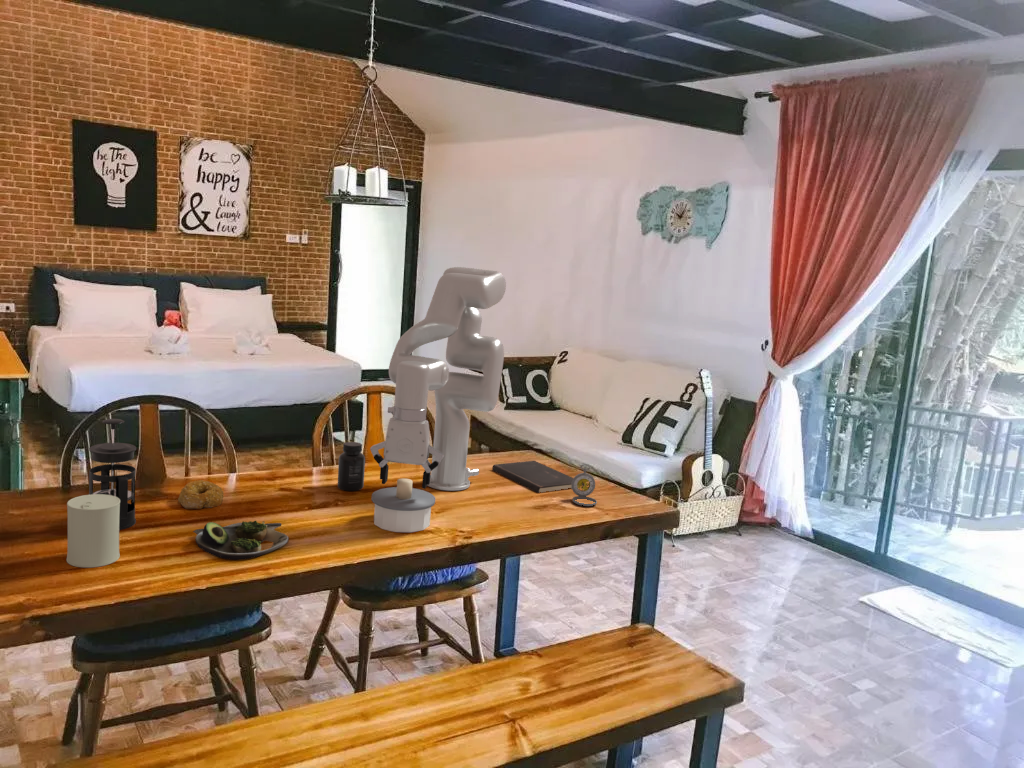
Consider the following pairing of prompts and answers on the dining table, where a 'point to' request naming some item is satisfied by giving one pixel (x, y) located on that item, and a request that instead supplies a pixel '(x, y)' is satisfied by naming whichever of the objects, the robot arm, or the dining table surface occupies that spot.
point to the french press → (115, 455)
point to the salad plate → (239, 539)
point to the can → (93, 530)
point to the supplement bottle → (351, 467)
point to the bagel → (200, 495)
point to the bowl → (401, 519)
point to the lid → (403, 497)
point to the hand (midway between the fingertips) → (404, 484)
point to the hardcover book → (534, 476)
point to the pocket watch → (583, 487)
